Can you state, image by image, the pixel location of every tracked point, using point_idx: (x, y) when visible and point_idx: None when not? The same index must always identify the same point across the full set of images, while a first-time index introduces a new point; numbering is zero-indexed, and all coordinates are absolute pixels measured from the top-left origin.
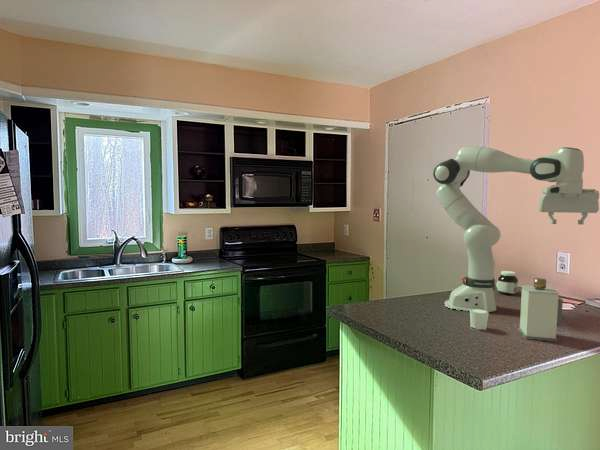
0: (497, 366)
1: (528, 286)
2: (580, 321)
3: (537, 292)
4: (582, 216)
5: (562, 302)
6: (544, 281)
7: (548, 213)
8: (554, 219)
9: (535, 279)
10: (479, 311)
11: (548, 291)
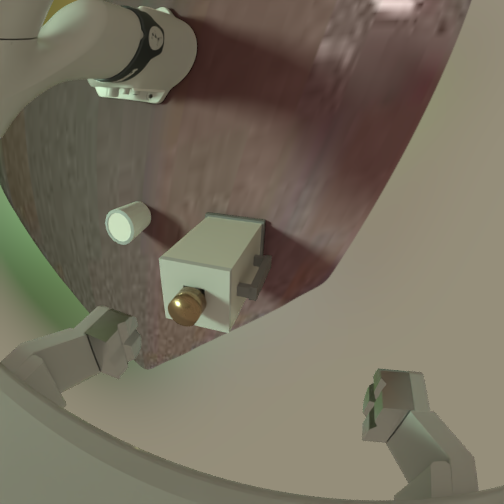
0: (159, 351)
1: (172, 271)
2: (386, 120)
3: None
4: (440, 447)
5: (257, 296)
6: (191, 324)
7: (13, 361)
8: (101, 368)
9: (170, 315)
10: (119, 228)
11: (209, 320)
